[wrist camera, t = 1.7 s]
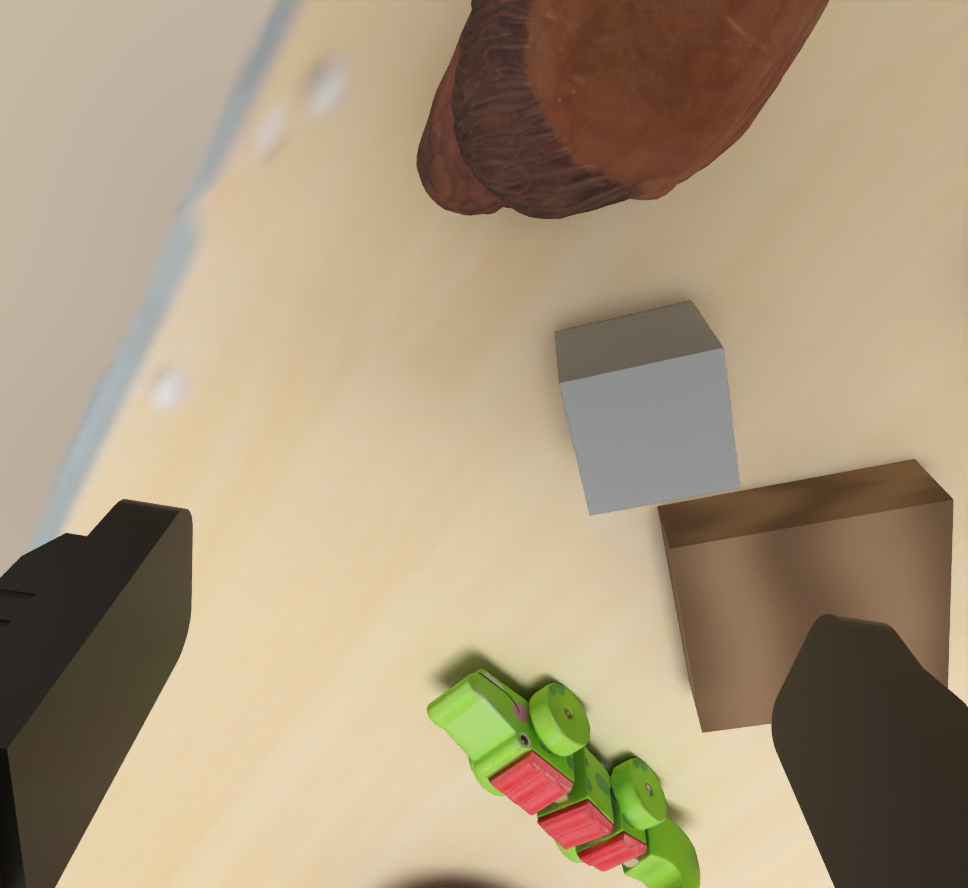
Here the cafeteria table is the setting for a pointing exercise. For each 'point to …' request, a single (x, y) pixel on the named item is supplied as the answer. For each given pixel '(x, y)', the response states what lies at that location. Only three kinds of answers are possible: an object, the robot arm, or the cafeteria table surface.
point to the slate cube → (648, 408)
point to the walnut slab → (804, 578)
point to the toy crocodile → (566, 779)
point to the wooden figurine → (600, 98)
